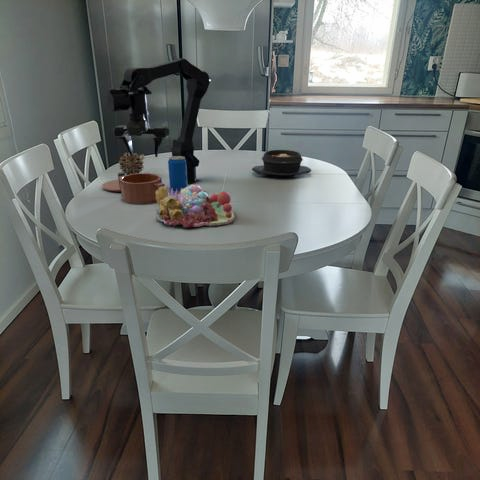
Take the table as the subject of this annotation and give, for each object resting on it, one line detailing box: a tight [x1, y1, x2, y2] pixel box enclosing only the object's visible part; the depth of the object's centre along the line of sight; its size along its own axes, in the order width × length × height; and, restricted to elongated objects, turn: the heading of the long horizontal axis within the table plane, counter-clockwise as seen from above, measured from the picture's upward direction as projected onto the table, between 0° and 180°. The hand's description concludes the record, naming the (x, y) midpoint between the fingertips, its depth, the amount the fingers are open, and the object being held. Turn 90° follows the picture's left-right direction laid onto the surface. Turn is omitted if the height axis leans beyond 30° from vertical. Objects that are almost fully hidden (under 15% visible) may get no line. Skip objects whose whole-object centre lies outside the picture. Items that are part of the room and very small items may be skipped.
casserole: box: [251, 149, 313, 178], centre depth 188 cm, size 25×19×8 cm
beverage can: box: [167, 155, 189, 194], centre depth 164 cm, size 6×6×12 cm
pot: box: [117, 172, 165, 205], centre depth 158 cm, size 14×19×7 cm
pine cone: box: [118, 152, 146, 175], centre depth 186 cm, size 22×10×10 cm, turn 177°
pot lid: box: [101, 171, 126, 193], centre depth 170 cm, size 15×15×5 cm
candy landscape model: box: [155, 183, 235, 229], centre depth 141 cm, size 25×24×9 cm
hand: (144, 156), depth 164 cm, fingers open, 9 cm apart
